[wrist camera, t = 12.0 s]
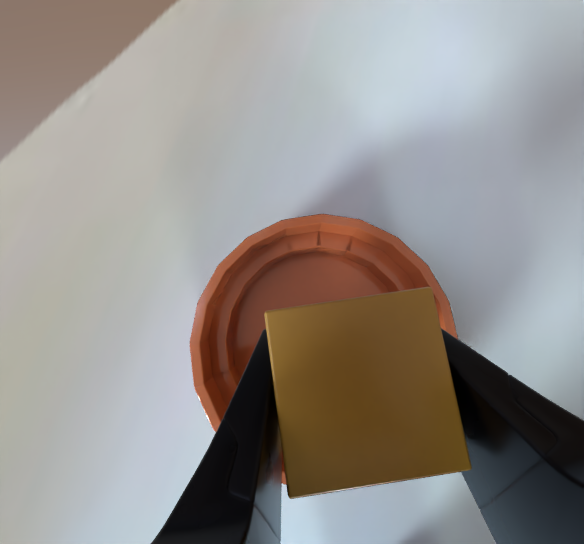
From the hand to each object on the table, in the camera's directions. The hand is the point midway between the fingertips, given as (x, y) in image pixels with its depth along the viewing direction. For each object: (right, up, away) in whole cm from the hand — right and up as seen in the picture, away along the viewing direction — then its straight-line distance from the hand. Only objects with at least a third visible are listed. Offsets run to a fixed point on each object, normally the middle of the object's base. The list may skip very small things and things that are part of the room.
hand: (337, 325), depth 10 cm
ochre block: (0, -2, +7) cm, 7 cm away
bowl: (0, -3, +9) cm, 10 cm away
